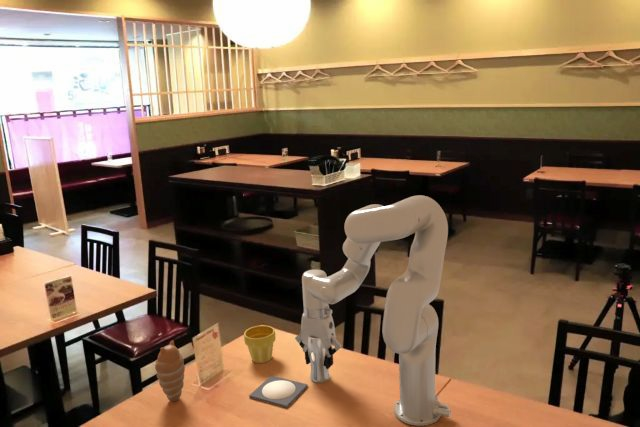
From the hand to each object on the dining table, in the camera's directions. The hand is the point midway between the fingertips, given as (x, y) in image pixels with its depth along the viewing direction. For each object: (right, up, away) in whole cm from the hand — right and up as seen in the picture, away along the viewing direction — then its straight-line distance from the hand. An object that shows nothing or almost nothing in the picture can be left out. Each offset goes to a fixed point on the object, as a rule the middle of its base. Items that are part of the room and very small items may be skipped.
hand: (319, 364), depth 163 cm
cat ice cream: (-43, -9, -7) cm, 44 cm away
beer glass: (0, -5, +1) cm, 5 cm away
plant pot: (-19, -2, +15) cm, 25 cm away
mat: (-12, -7, -6) cm, 15 cm away
